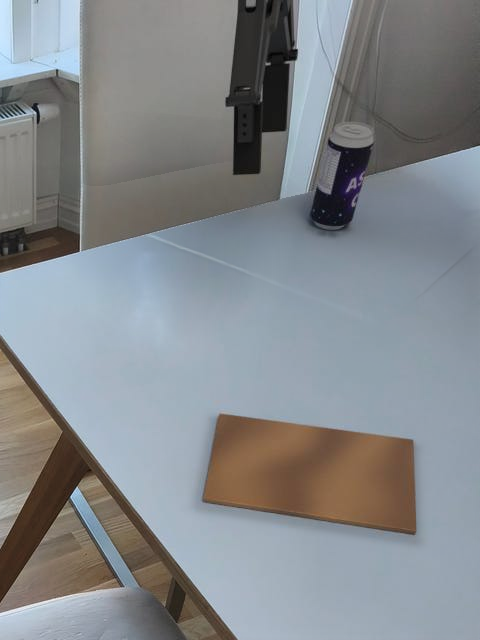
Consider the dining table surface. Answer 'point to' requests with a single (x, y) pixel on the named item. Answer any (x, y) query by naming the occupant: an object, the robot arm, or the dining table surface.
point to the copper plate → (313, 473)
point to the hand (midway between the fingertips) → (260, 151)
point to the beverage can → (342, 175)
